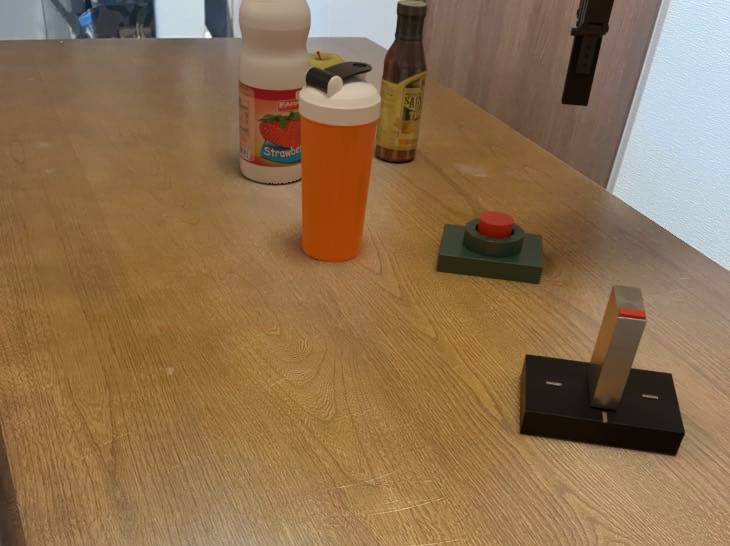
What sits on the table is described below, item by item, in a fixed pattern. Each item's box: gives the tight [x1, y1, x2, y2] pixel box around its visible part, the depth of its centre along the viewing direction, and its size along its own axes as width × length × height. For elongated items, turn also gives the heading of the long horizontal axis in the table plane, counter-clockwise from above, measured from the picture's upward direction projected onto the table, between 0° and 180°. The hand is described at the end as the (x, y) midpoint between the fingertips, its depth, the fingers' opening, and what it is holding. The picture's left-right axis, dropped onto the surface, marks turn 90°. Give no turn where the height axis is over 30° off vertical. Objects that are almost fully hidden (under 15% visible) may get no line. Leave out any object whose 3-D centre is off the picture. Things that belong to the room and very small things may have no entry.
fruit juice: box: [237, 0, 312, 185], centre depth 113 cm, size 9×9×28 cm
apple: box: [308, 50, 346, 70], centre depth 143 cm, size 10×10×8 cm
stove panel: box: [519, 353, 686, 456], centre depth 81 cm, size 14×10×3 cm
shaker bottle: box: [298, 61, 381, 263], centre depth 99 cm, size 9×9×20 cm
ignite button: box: [477, 211, 515, 238], centre depth 102 cm, size 4×4×2 cm
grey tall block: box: [587, 284, 648, 410], centre depth 77 cm, size 6×2×9 cm, turn 170°
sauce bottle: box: [374, 0, 428, 162], centre depth 123 cm, size 7×6×20 cm
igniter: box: [436, 217, 544, 285], centre depth 104 cm, size 12×9×4 cm
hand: (574, 102), depth 93 cm, fingers closed
